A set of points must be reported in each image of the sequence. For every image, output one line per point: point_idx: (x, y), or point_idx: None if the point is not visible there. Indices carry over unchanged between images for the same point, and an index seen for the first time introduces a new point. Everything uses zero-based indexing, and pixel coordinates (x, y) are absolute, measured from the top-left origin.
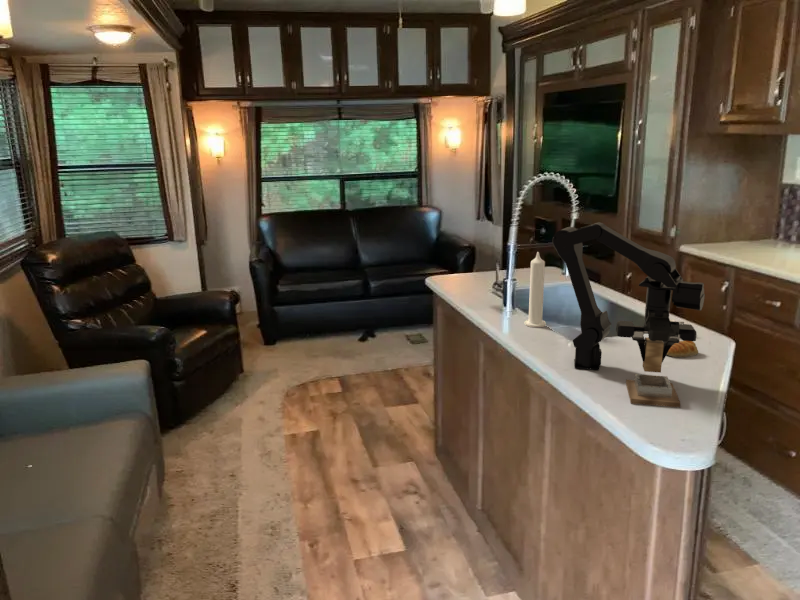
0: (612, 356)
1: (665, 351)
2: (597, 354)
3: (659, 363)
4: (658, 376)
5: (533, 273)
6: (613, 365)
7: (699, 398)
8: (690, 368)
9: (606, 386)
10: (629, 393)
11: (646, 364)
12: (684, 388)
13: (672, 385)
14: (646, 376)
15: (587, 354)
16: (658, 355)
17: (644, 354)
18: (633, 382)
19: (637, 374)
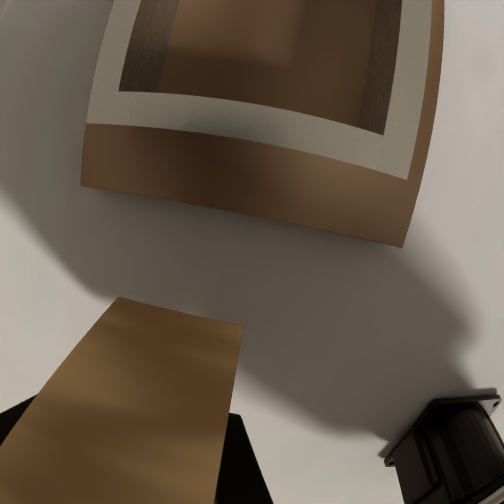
0: (295, 493)
1: (3, 431)
2: (447, 468)
3: (97, 347)
4: (166, 110)
5: None
6: (333, 447)
7: (25, 51)
8: (30, 384)
9: (500, 202)
10: (440, 22)
11: (221, 366)
12: (43, 171)
13: (88, 135)
14: (300, 115)
15: (494, 450)
16: (71, 414)
17: (226, 470)
18: (373, 186)
19: (385, 169)
